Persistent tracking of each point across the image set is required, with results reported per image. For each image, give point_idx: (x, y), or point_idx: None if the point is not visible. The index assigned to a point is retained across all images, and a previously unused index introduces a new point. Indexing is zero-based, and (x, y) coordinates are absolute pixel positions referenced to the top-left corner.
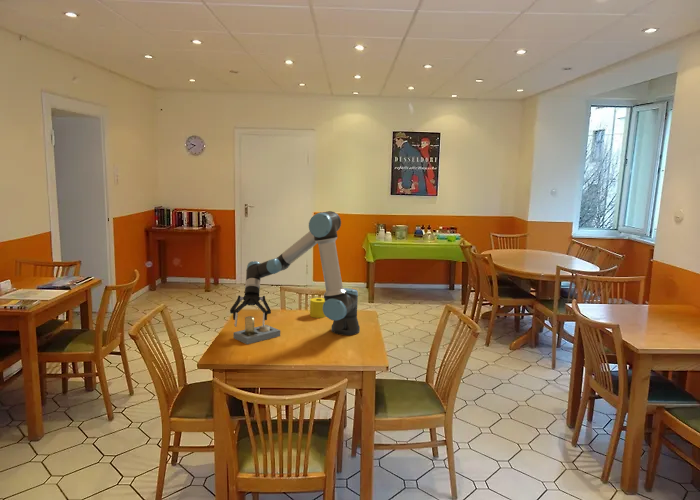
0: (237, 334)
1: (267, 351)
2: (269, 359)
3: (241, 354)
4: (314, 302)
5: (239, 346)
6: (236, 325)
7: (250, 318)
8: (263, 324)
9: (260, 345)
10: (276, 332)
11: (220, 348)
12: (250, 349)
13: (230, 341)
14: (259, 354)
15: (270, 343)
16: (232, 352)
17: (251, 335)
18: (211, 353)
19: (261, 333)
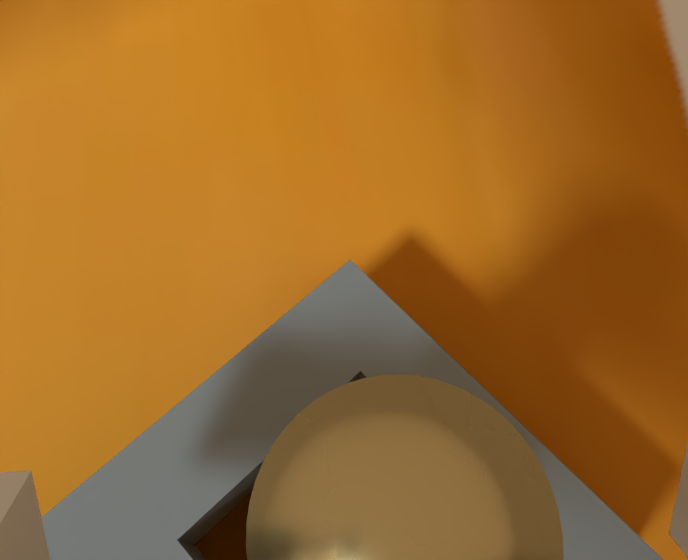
0: (560, 463)
1: (69, 95)
2: None
3: (348, 22)
4: None
5: (426, 229)
6: (684, 525)
7: (360, 421)
8: (5, 483)
9: (157, 275)
10: None
11: (625, 163)
12: (274, 144)
13: (605, 408)
14: (160, 23)
15: (9, 359)
16: (454, 65)
17: (303, 408)
18: (652, 41)
19: (124, 541)
